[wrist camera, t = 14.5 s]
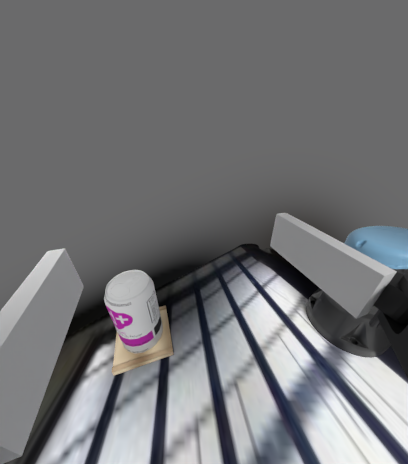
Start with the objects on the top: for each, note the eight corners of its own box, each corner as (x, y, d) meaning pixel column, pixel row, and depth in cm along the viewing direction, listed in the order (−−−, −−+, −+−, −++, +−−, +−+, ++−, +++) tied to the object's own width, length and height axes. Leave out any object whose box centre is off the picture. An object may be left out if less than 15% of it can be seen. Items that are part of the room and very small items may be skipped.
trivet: (166, 308, 44) (165, 305, 43) (173, 354, 35) (172, 350, 34) (119, 321, 41) (117, 318, 40) (113, 375, 32) (111, 372, 31)
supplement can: (140, 364, 32) (120, 313, 25) (115, 339, 37) (91, 288, 29) (171, 329, 38) (162, 278, 31) (146, 311, 42) (133, 262, 35)
